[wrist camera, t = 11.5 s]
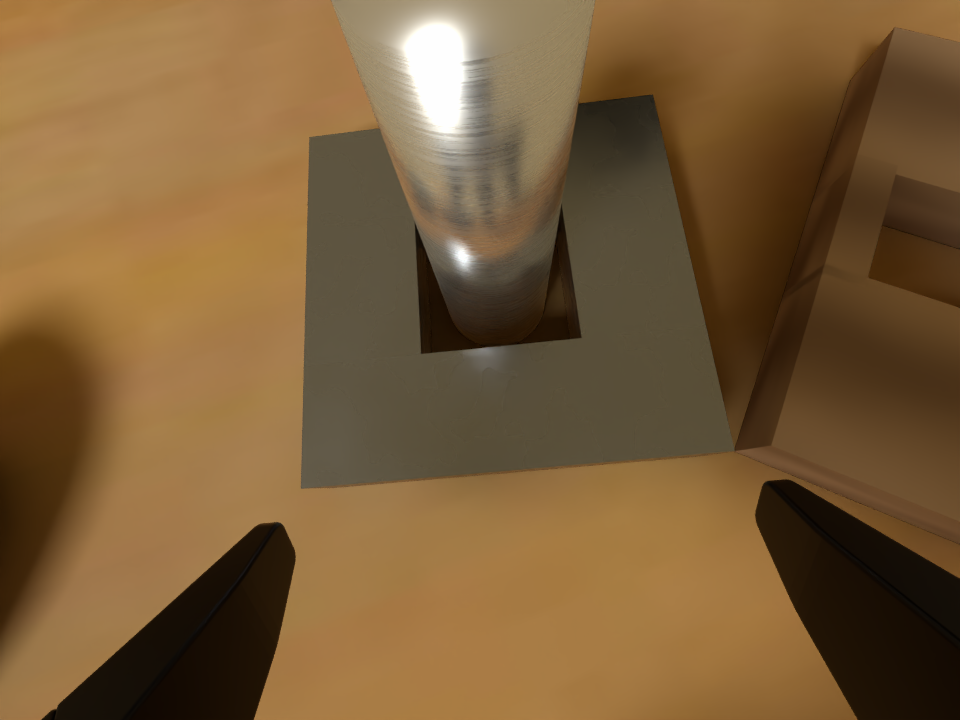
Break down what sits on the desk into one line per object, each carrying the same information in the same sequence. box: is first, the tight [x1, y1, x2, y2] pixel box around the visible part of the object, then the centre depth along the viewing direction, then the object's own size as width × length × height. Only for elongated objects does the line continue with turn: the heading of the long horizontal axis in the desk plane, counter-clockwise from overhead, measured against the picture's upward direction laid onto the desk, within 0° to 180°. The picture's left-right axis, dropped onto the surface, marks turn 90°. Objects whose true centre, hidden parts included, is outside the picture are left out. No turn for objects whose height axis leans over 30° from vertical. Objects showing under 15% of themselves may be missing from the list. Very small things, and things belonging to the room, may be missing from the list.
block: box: [301, 95, 735, 489], centre depth 18 cm, size 14×14×2 cm
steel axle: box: [331, 0, 595, 347], centre depth 13 cm, size 4×4×13 cm
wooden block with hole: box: [735, 27, 960, 544], centre depth 17 cm, size 18×8×2 cm, turn 156°
